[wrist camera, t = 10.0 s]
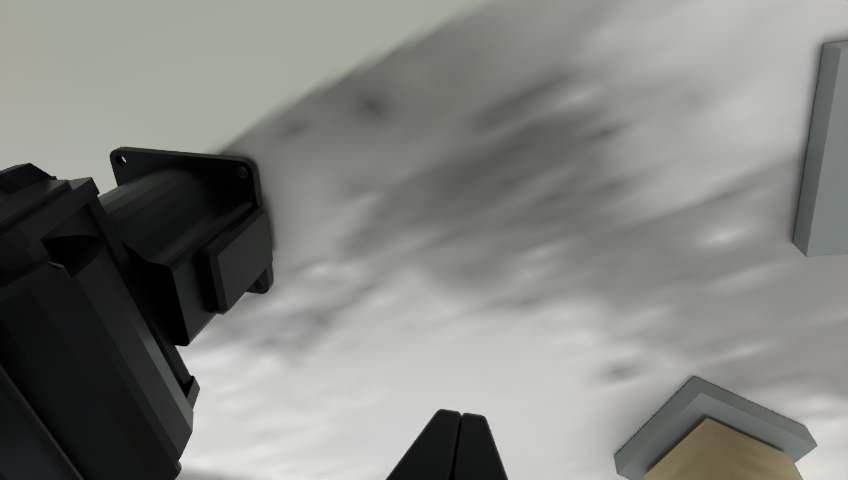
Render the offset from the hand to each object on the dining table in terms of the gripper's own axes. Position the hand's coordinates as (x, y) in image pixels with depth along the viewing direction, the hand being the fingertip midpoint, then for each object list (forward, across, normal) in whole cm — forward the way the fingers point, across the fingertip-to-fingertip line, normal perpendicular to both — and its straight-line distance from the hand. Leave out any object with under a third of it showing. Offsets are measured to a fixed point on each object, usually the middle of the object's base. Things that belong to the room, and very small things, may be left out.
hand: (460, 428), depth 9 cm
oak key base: (+12, -11, +12) cm, 20 cm away
